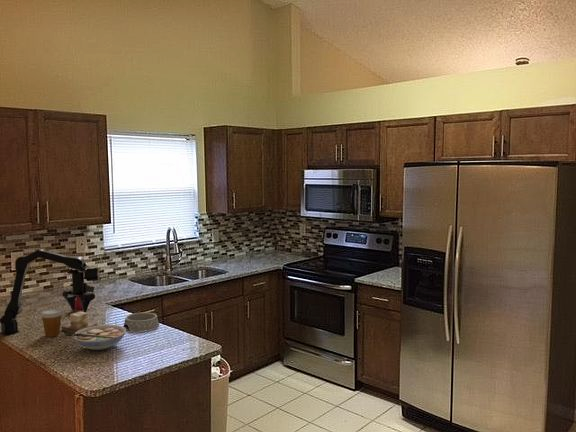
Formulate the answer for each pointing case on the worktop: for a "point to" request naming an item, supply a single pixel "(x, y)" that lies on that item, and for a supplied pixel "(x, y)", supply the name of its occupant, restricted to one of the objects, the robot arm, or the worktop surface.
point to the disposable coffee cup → (51, 322)
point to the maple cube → (79, 319)
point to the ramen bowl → (99, 336)
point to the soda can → (78, 304)
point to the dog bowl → (141, 321)
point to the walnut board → (75, 329)
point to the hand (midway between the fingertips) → (79, 311)
